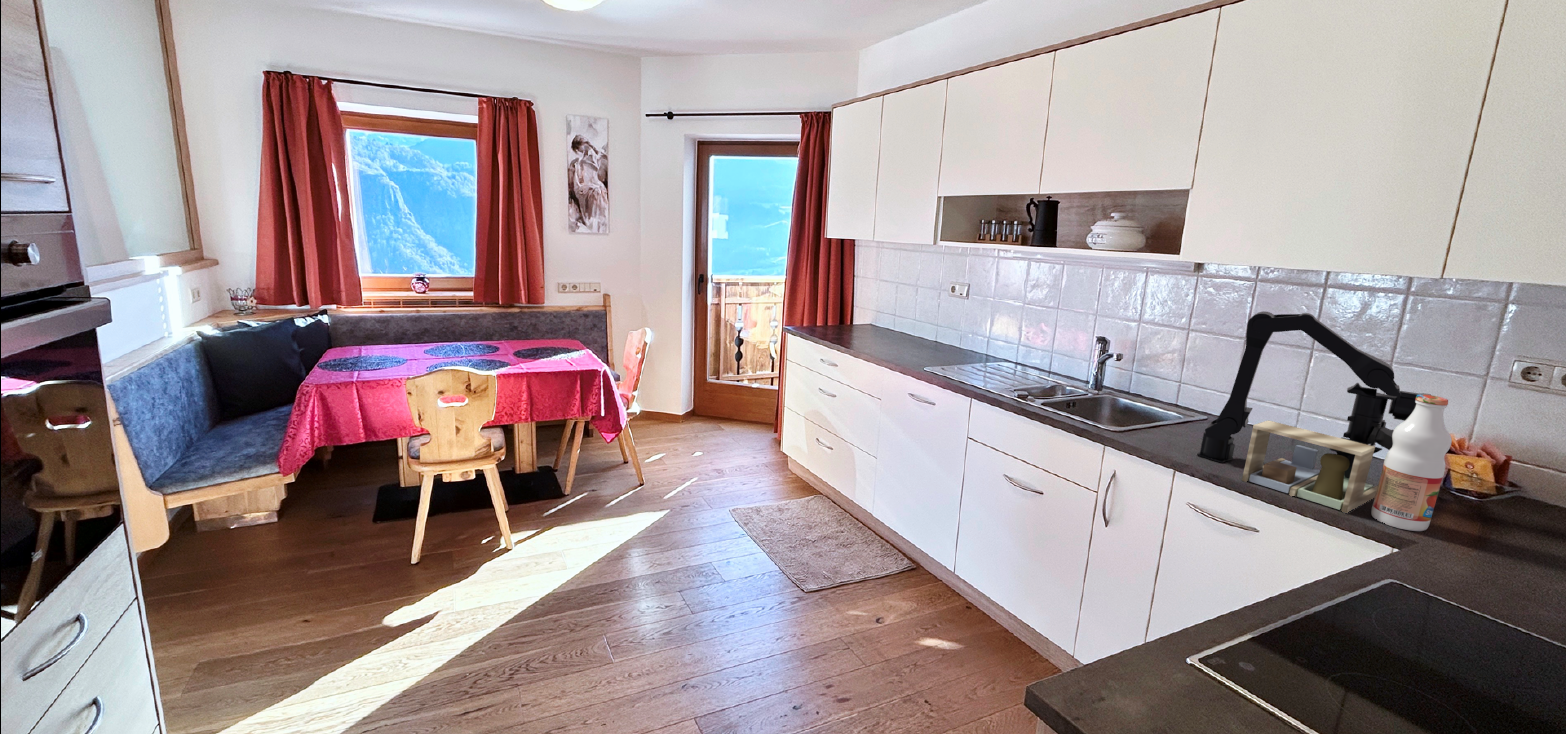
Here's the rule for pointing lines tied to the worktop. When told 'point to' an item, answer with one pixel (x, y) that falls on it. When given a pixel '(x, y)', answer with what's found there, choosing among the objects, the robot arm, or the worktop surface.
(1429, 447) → the fruit juice
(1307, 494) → the pale green tray
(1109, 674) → the worktop surface
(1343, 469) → the olive rounded upright piece
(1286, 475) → the walnut cube
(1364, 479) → the board
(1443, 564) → the worktop surface
